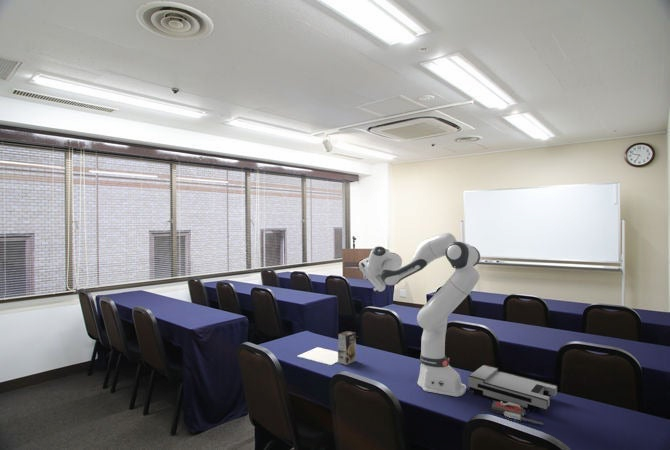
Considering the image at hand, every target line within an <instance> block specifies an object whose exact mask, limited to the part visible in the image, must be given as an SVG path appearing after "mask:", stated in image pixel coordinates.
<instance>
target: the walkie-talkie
mask: <svg viewBox="0 0 670 450" xmlns="http://www.w3.org/2000/svg"><path fill="white" fill-rule="evenodd" d="M492 401H493V400H492ZM488 410H489V411H491V412H492V411H493V412H492V413H494V412H496V413H495V414H498V413H500V415H501V414H504V415H503V416H504V417H506V416H507V417H509V418H514V419H518V420H520V421H521V420H523V421H522V422H527V421H529V422H528V423H530V422H533V423H532V424H534V423H535V424H538V425H542V426H543V425H544V423H543V422H541V421H538V420H537V421H536V420H533V419H529V418H525V417H524V415H525V416H526V412H527V411H526V410H524V408H522V407H520V405H518V404H514V403H511V402H508V403H502V401H501V402H498V401H493V402H492V403H491V407H488ZM522 416H523V417H522ZM507 417H506V418H507ZM509 418H508V419H509Z"/></svg>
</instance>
